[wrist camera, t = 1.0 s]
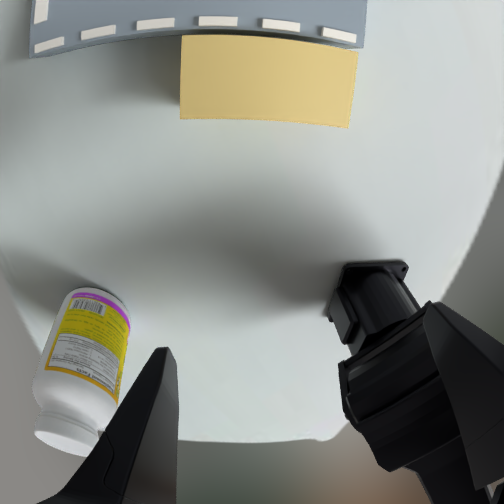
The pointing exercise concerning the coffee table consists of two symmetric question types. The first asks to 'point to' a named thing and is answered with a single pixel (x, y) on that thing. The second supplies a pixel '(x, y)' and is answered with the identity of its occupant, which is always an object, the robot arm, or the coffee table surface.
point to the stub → (266, 80)
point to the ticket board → (192, 21)
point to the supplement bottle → (81, 370)
